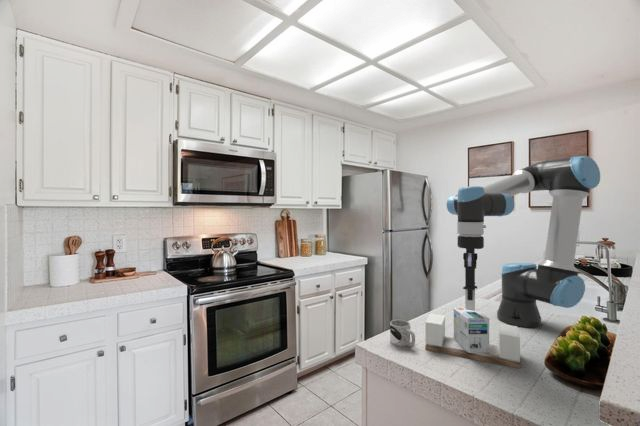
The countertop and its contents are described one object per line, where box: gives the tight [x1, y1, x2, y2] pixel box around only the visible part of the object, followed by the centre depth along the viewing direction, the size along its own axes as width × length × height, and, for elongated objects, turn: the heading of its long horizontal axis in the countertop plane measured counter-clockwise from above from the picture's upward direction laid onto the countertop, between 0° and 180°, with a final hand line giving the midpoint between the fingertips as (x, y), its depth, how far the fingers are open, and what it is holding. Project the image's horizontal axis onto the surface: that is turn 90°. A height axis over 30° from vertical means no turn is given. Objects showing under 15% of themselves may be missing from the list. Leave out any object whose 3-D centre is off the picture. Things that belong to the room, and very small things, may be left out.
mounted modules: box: [425, 313, 521, 362], centre depth 99 cm, size 26×9×7 cm, turn 62°
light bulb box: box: [453, 307, 490, 353], centre depth 99 cm, size 11×7×11 cm, turn 1°
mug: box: [389, 319, 416, 348], centre depth 105 cm, size 10×7×7 cm, turn 28°
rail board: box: [425, 336, 521, 369], centre depth 99 cm, size 26×10×2 cm, turn 62°
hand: (470, 309), depth 99 cm, fingers closed
